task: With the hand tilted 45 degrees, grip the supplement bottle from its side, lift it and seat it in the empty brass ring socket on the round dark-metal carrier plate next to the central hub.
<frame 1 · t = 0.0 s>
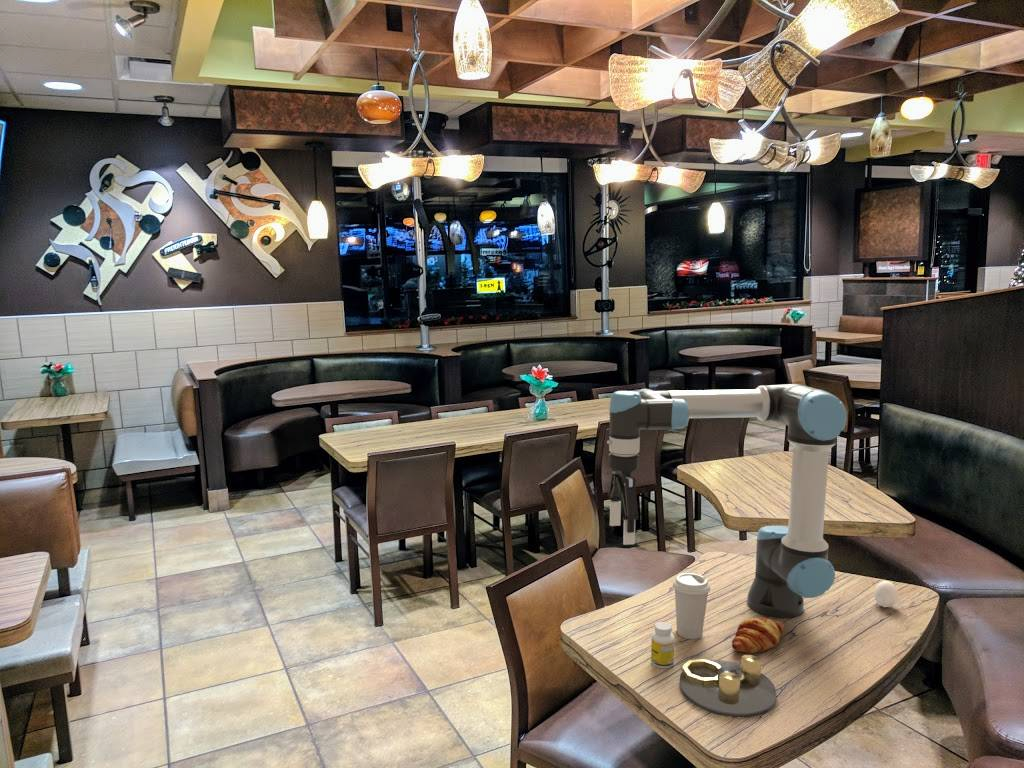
hand: (621, 534, 189), 28 cm above the table, tool pointing down, fingers open, 13 cm apart
coffee cup: (689, 633, 196), on the table
croissant: (759, 644, 191), on the table
carrier plate: (726, 690, 170), on the table
egg: (885, 607, 212), on the table
supplement bottle: (662, 664, 181), on the table
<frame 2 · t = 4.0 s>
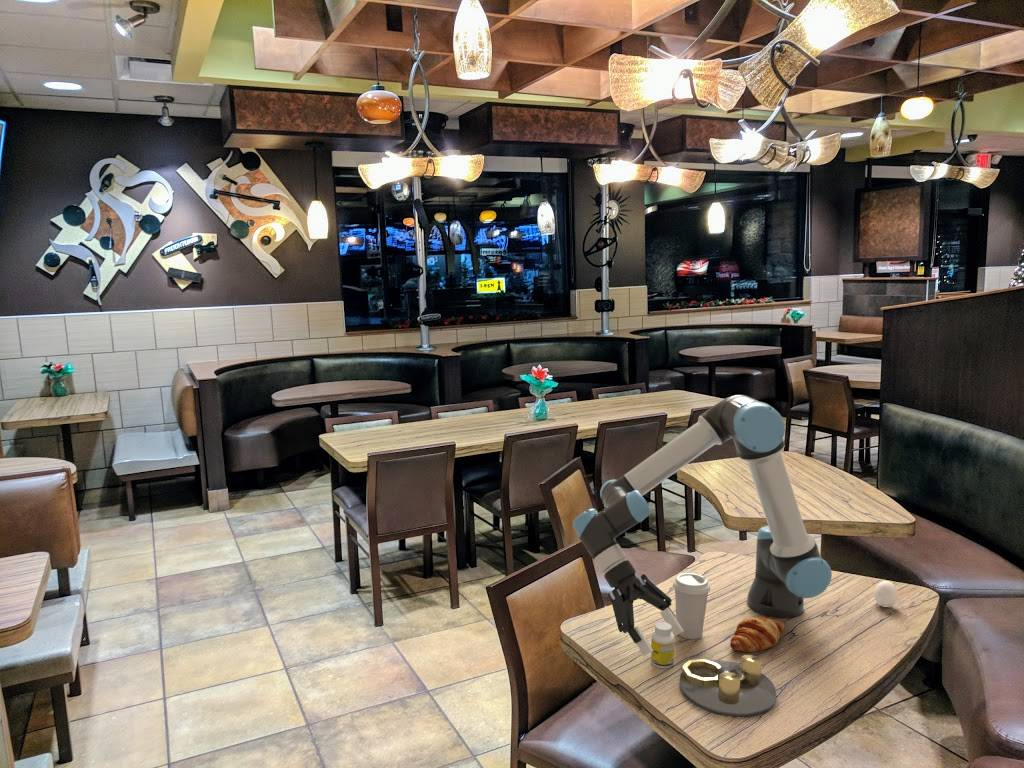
hand: (664, 643, 180), 6 cm above the table, tool tilted 45°, fingers open, 13 cm apart
nothing on the table moved.
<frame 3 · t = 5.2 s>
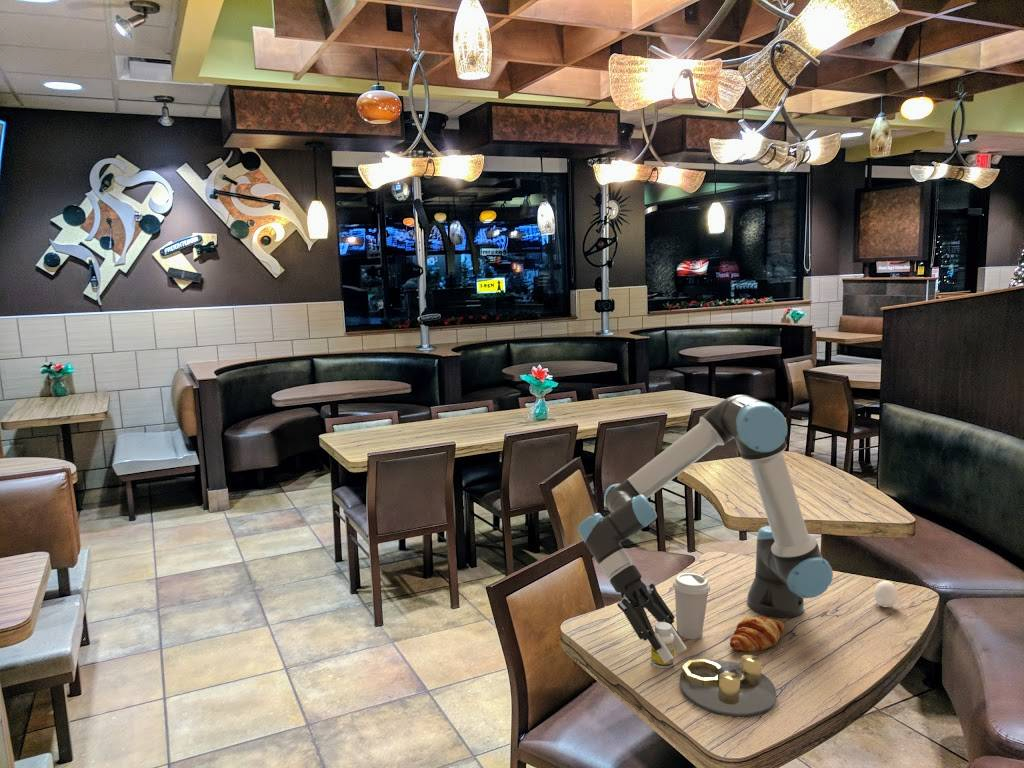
hand: (675, 655, 178), 3 cm above the table, tool tilted 45°, fingers closed on supplement bottle, 5 cm apart
supplement bottle: (662, 664, 181), on the table, touching gripper
everything else where it was.
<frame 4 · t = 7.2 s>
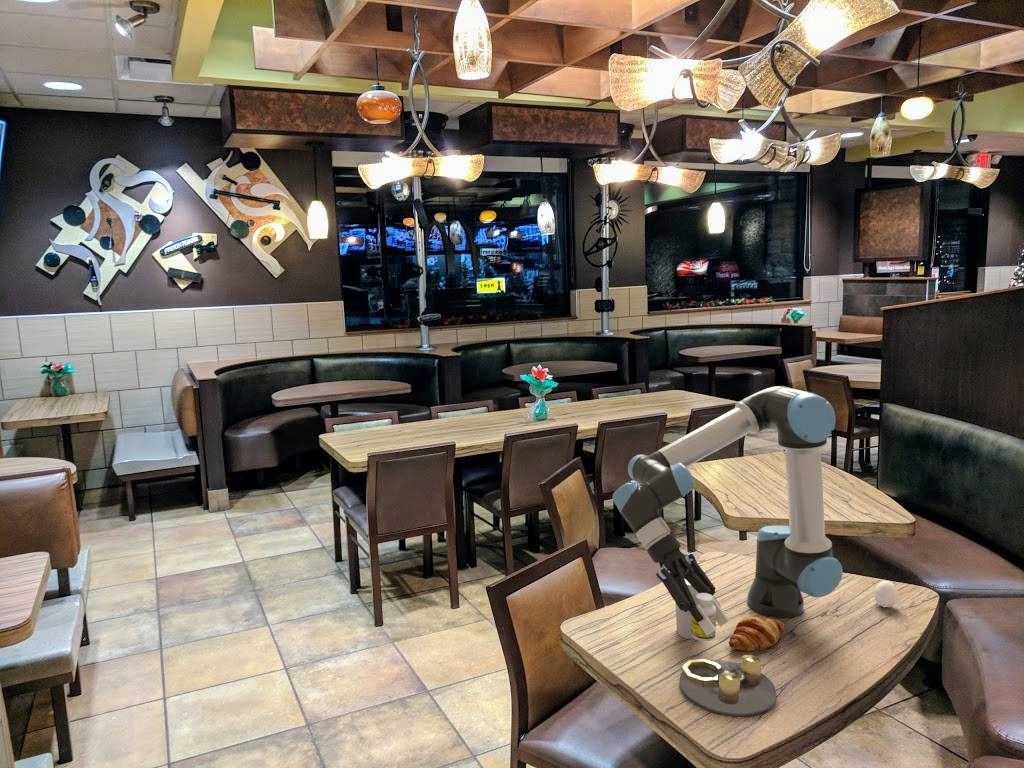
hand: (718, 628, 169), 14 cm above the table, tool tilted 45°, fingers closed on supplement bottle, 5 cm apart
supplement bottle: (703, 637, 172), point 11 cm above the table, touching gripper
everything else where it was.
when the fingers open (6 cm above the table, at t = 9.1 s): supplement bottle stays where it is, resting on carrier plate.
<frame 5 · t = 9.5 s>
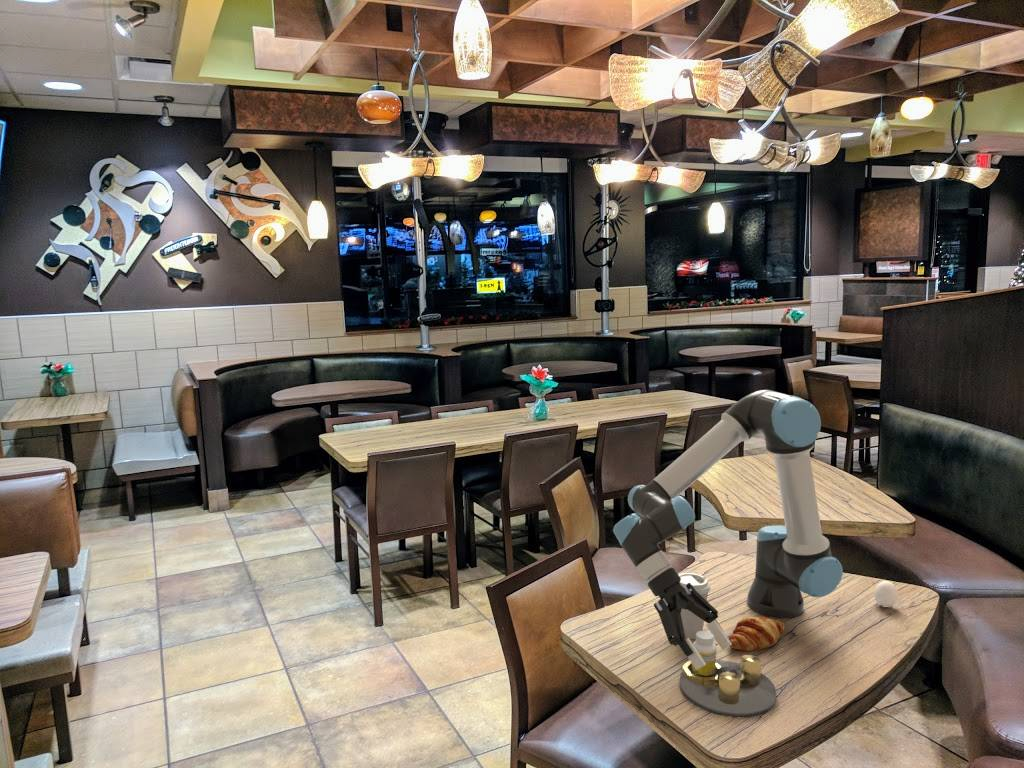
hand: (714, 657, 171), 7 cm above the table, tool tilted 45°, fingers open, 11 cm apart
supplement bottle: (703, 674, 174), point 1 cm above the table, touching carrier plate
everything else where it was.
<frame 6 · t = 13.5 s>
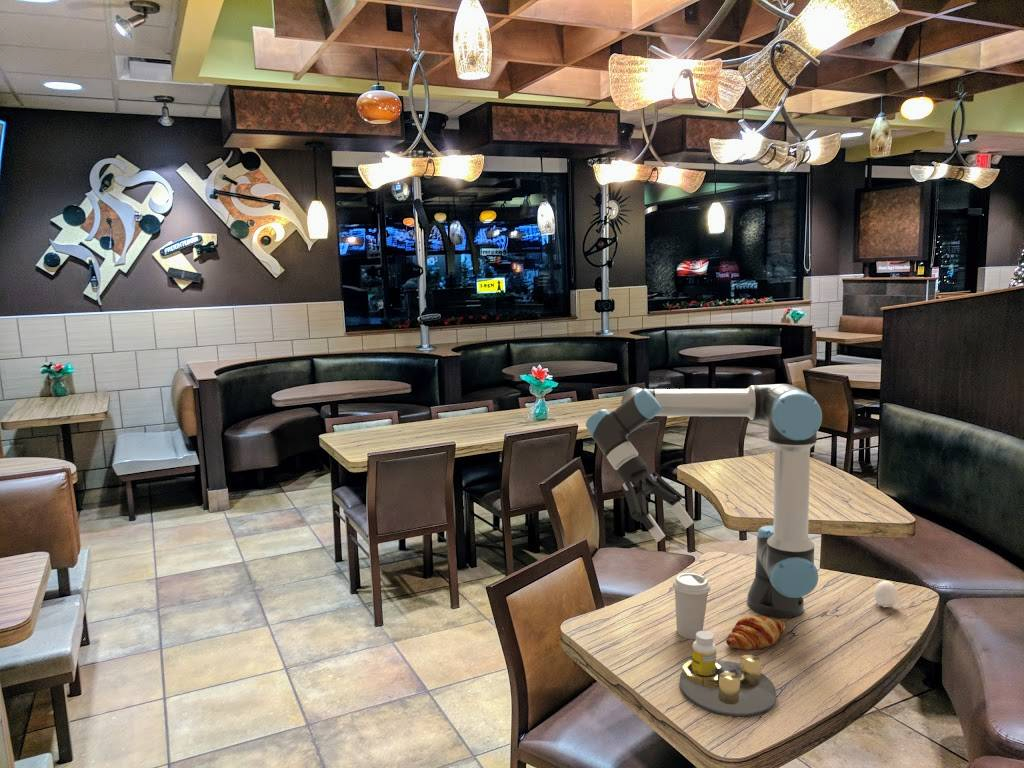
hand: (676, 532, 186), 30 cm above the table, tool tilted 45°, fingers open, 13 cm apart
at the end: supplement bottle 0.1 cm from the target spot on the carrier plate, point 1.3 cm above the carrier plate's base; supplement bottle tilted 0°; the gripper is holding nothing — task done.
